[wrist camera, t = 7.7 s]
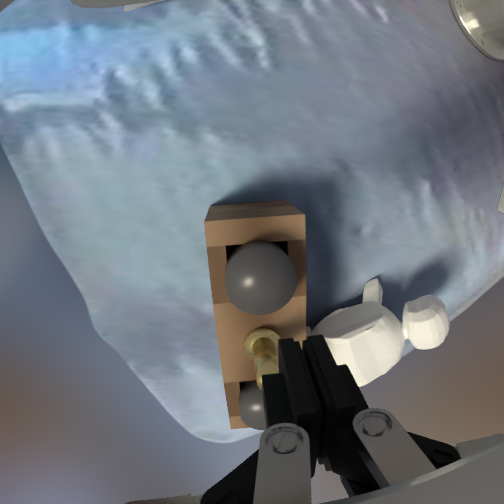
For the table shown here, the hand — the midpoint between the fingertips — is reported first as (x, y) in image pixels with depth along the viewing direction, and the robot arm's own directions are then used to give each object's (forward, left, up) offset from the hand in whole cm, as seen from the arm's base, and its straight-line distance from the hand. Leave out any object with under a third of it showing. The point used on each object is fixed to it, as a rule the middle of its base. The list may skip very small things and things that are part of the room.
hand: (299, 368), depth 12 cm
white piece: (-12, +10, -20) cm, 26 cm away
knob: (0, 0, -19) cm, 19 cm away
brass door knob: (0, +6, -12) cm, 14 cm away
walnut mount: (0, +6, -20) cm, 21 cm away
